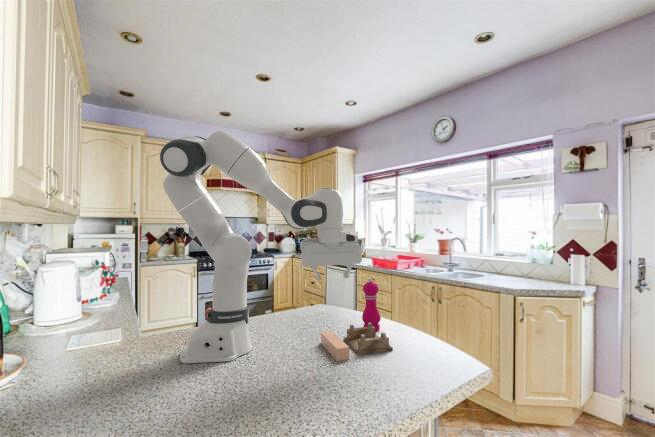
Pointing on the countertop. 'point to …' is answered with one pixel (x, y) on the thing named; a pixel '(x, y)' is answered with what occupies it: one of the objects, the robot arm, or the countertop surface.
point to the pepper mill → (371, 305)
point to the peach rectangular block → (335, 346)
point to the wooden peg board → (367, 340)
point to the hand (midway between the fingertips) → (332, 278)
